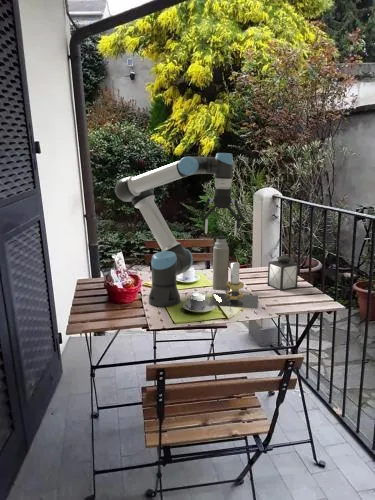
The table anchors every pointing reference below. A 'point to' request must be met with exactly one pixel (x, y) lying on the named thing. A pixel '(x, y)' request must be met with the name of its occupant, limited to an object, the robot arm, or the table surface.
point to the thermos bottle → (220, 263)
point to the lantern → (282, 273)
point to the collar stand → (235, 298)
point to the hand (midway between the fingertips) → (220, 234)
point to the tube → (234, 279)
